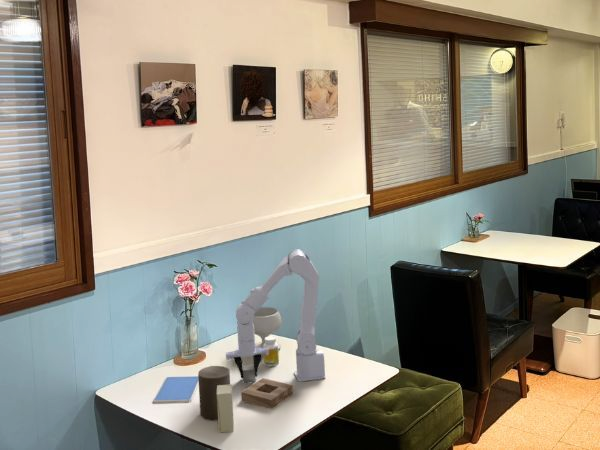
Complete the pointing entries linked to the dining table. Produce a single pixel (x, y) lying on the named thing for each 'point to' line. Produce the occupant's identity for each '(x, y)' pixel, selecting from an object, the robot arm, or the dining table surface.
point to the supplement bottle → (271, 351)
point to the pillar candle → (211, 389)
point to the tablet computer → (177, 389)
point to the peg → (248, 374)
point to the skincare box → (225, 408)
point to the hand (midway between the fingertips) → (248, 376)
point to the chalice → (266, 323)
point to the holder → (273, 396)
